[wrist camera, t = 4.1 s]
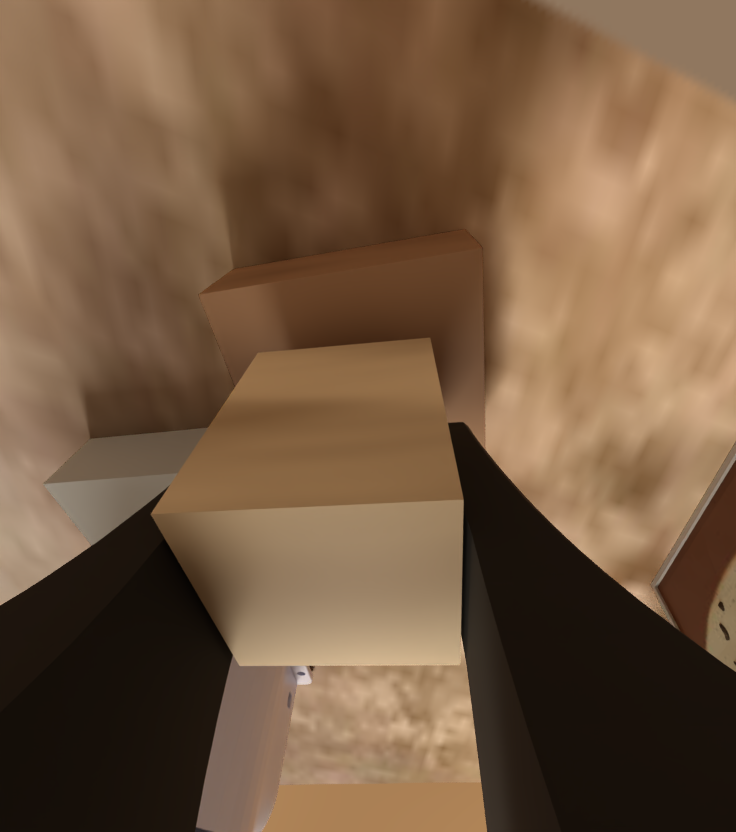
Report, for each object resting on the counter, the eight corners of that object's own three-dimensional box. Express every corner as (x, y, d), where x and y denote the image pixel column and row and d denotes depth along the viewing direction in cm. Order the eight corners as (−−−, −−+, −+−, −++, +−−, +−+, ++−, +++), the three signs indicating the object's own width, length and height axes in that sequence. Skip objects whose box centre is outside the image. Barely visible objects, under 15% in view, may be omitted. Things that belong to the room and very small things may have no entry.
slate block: (298, 536, 20) (284, 593, 17) (165, 544, 20) (134, 599, 18) (256, 418, 16) (230, 468, 13) (95, 434, 17) (42, 483, 14)
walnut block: (470, 424, 15) (485, 477, 13) (296, 442, 16) (277, 495, 14) (463, 227, 12) (482, 247, 9) (237, 266, 13) (198, 294, 10)
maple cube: (434, 472, 11) (460, 665, 7) (294, 480, 12) (239, 666, 7) (430, 337, 9) (463, 499, 5) (257, 353, 9) (150, 514, 5)
